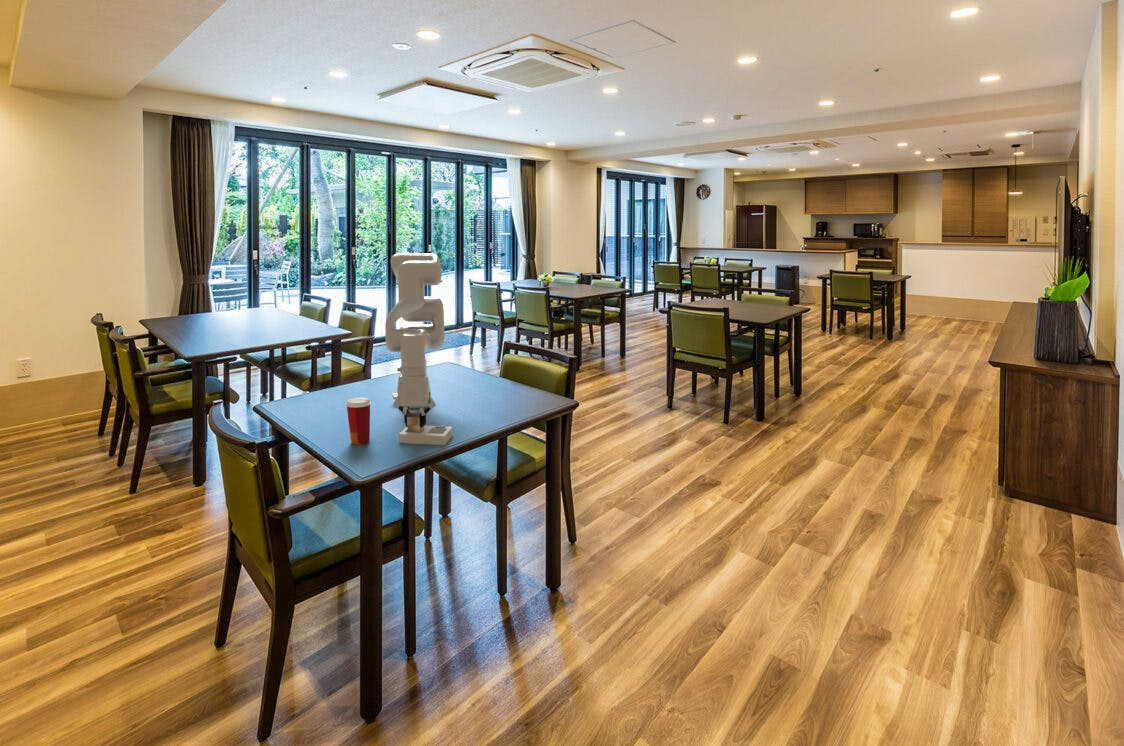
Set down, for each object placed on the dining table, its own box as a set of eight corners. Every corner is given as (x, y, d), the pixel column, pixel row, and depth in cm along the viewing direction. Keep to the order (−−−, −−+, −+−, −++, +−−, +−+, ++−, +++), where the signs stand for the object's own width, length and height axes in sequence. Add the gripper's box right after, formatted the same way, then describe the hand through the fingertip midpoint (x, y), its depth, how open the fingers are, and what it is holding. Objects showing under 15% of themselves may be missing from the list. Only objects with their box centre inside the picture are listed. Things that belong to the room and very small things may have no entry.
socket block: (399, 442, 198) (398, 433, 197) (409, 433, 208) (409, 423, 207) (444, 445, 197) (444, 435, 196) (452, 435, 207) (452, 425, 206)
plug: (407, 434, 200) (406, 413, 199) (411, 430, 204) (410, 410, 203) (419, 435, 200) (419, 414, 198) (423, 431, 204) (423, 410, 202)
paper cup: (375, 438, 202) (373, 397, 199) (369, 446, 195) (367, 403, 192) (351, 438, 202) (349, 396, 199) (344, 445, 194) (341, 403, 191)
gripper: (383, 372, 195) (386, 428, 199) (435, 374, 193) (437, 430, 197) (392, 368, 202) (394, 421, 206) (442, 369, 201) (443, 423, 205)
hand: (415, 425), depth 202 cm, fingers closed on plug, 4 cm apart
